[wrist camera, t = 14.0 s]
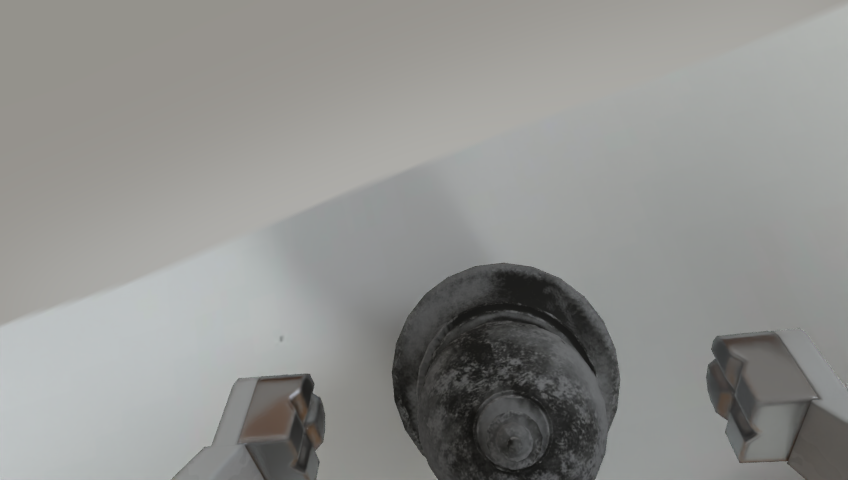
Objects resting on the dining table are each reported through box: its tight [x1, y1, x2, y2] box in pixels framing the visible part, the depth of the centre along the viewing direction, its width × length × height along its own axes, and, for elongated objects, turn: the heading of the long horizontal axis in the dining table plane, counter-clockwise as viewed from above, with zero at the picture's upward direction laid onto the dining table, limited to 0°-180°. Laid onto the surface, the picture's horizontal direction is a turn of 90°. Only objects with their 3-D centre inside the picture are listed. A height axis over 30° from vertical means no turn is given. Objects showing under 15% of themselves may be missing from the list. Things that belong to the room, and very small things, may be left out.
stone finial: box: [392, 263, 620, 480], centre depth 13 cm, size 6×6×12 cm
